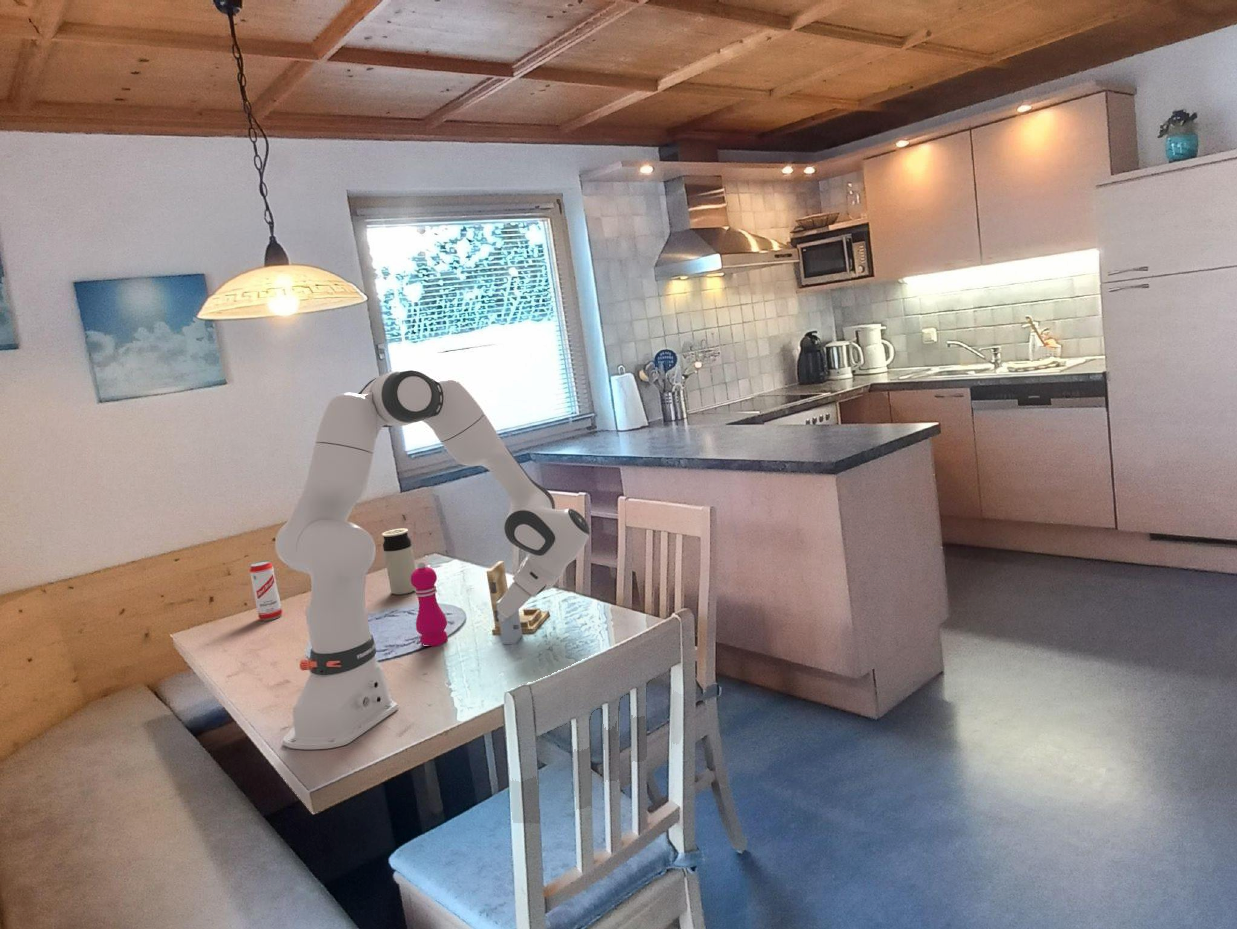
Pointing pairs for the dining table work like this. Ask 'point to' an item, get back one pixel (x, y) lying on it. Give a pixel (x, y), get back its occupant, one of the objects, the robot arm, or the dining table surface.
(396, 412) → the robot arm
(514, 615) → the grey rectangular block
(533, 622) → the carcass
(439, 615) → the pepper mill
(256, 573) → the beer can
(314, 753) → the dining table surface
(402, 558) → the travel mug
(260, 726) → the dining table surface
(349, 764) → the dining table surface
